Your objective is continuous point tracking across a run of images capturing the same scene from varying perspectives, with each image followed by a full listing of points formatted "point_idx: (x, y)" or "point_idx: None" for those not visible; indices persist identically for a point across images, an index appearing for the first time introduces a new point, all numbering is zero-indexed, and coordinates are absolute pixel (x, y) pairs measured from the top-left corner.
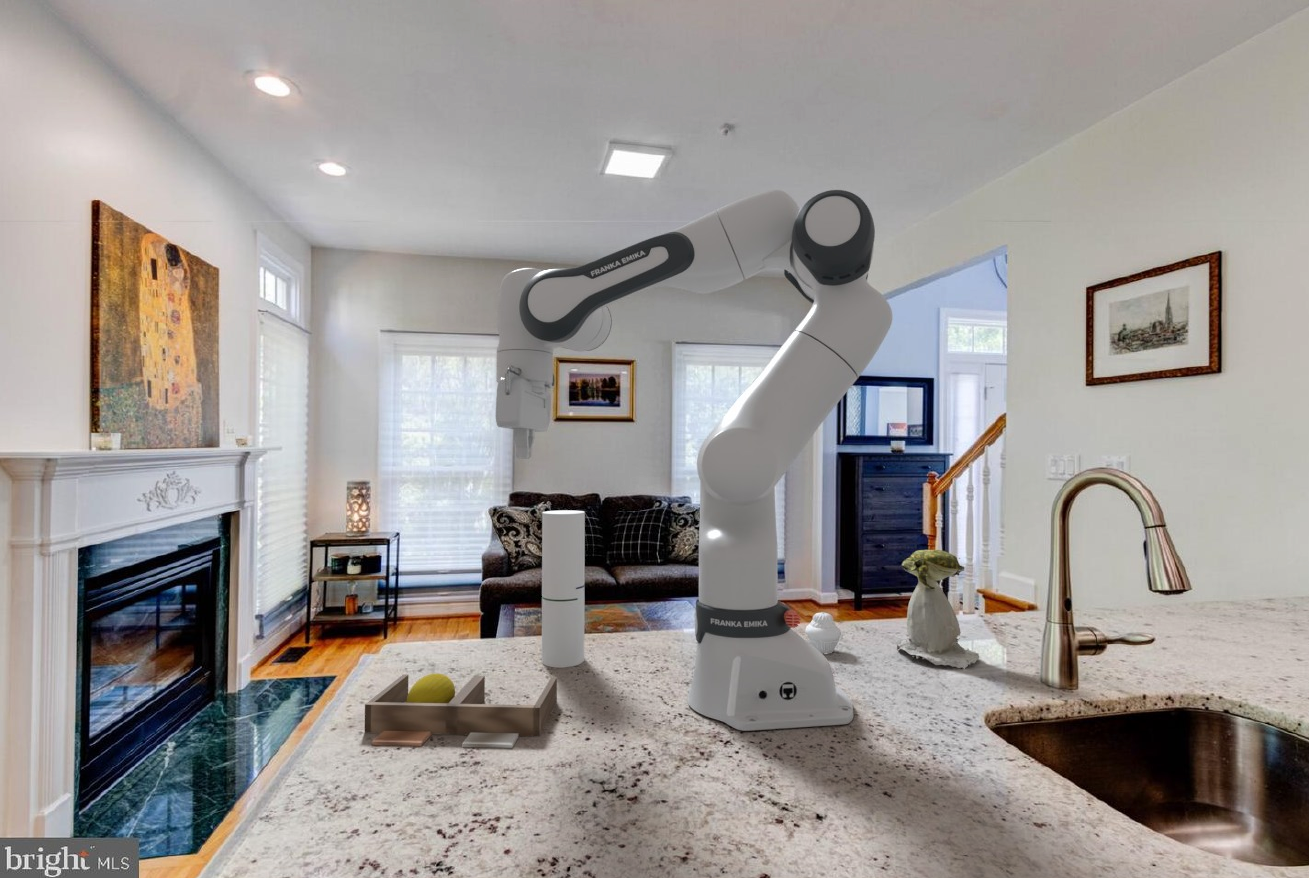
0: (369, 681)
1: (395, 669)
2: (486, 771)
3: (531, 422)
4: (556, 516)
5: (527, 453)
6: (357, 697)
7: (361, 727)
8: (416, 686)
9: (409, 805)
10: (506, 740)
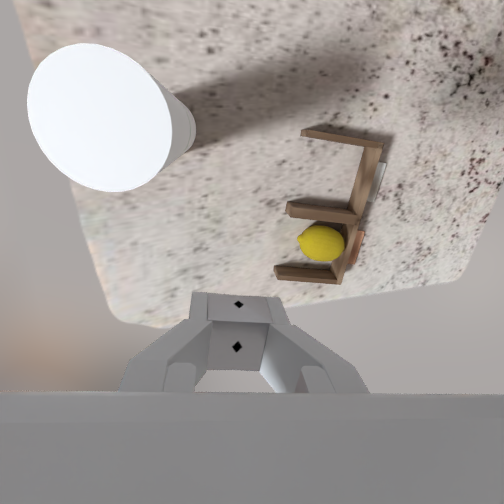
0: None
1: None
2: (414, 176)
3: (450, 430)
4: (171, 144)
5: (282, 306)
6: None
7: None
8: (337, 256)
9: (438, 215)
10: (378, 168)
